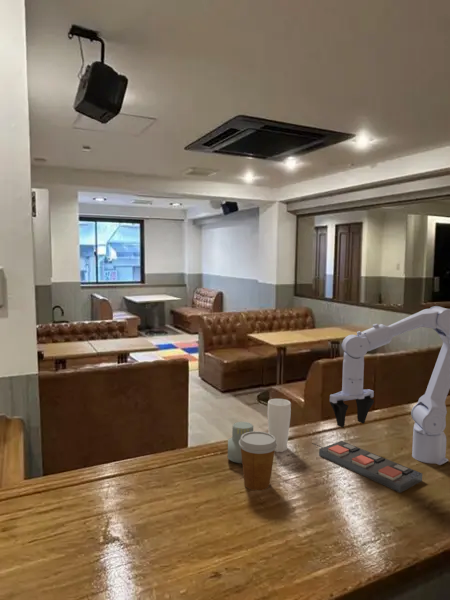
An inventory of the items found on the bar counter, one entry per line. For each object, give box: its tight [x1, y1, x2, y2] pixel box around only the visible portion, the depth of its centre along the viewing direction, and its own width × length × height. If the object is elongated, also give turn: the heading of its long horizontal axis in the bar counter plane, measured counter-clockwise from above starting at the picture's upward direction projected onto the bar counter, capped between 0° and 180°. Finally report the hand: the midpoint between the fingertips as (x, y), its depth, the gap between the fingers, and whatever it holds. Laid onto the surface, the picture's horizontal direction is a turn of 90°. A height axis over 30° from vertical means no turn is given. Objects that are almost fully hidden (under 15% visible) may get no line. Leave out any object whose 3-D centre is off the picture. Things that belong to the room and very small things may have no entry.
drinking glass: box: [267, 398, 292, 453], centre depth 128 cm, size 7×7×15 cm
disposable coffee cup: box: [239, 430, 277, 491], centre depth 109 cm, size 10×10×12 cm
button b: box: [352, 455, 374, 468], centre depth 116 cm, size 4×4×3 cm
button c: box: [378, 466, 402, 481], centre depth 109 cm, size 4×4×3 cm
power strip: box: [311, 440, 423, 494], centre depth 120 cm, size 10×32×4 cm, turn 37°
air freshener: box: [227, 421, 254, 465], centre depth 123 cm, size 11×8×10 cm
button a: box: [328, 445, 349, 457], centre depth 122 cm, size 4×4×3 cm
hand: (350, 424), depth 125 cm, fingers open, 7 cm apart
